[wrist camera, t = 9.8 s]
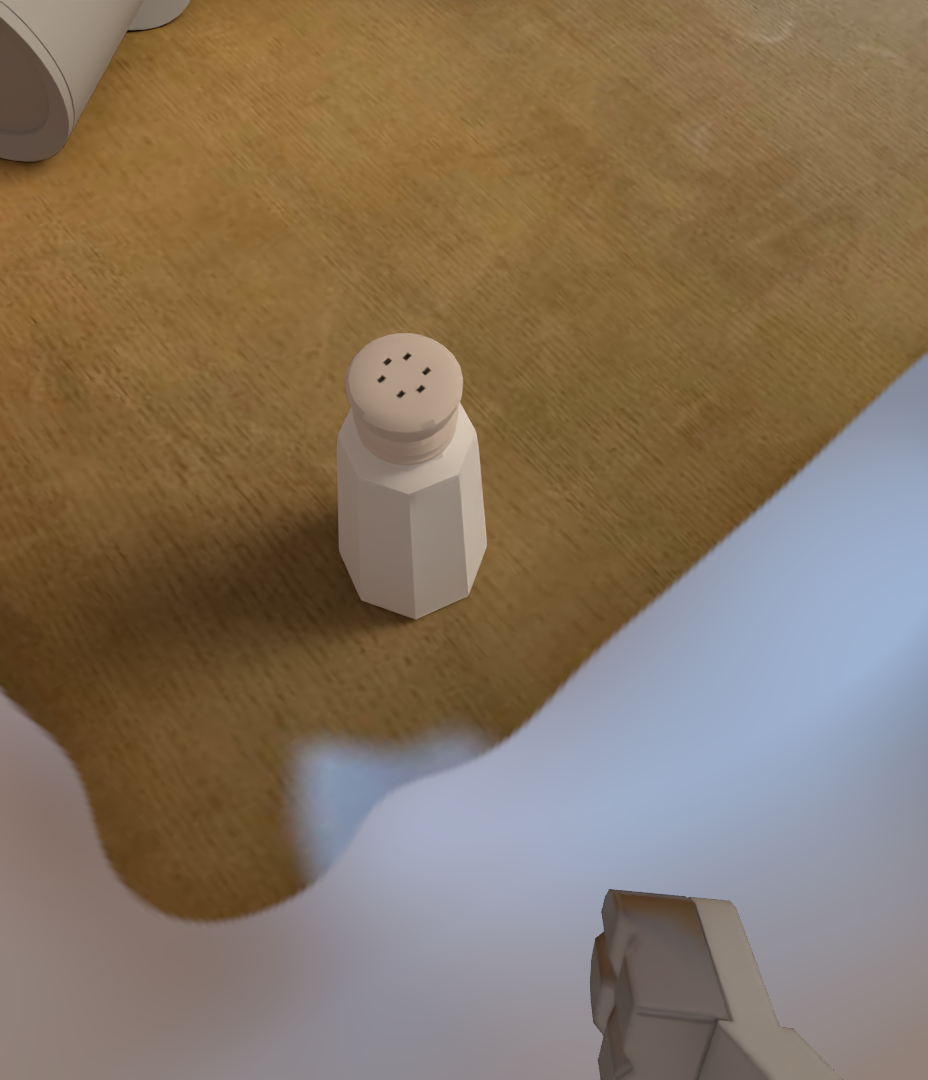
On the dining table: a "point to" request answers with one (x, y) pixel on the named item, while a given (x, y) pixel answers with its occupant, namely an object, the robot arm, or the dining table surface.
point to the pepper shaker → (409, 478)
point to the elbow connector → (60, 64)
